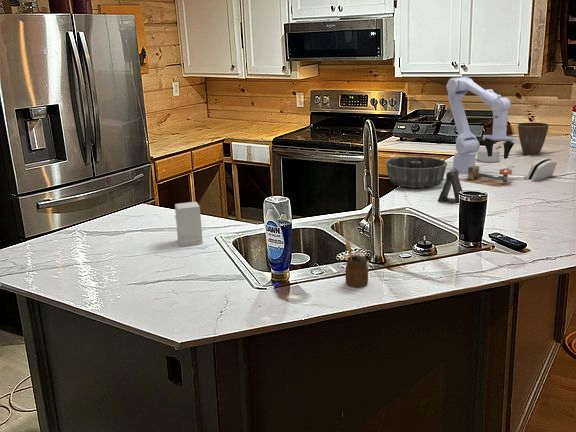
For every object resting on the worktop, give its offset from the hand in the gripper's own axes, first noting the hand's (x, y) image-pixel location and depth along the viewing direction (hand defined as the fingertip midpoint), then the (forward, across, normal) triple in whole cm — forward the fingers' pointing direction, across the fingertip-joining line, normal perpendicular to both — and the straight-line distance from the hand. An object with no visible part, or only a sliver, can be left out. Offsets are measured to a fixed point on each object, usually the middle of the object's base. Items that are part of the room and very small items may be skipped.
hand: (497, 157), depth 268 cm
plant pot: (+10, -16, +62) cm, 65 cm away
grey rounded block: (+10, +13, +14) cm, 22 cm away
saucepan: (+10, -25, +39) cm, 47 cm away
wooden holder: (+9, -6, -9) cm, 14 cm away
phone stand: (+10, +6, -44) cm, 45 cm away
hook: (+8, +4, -9) cm, 13 cm away
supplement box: (+10, -28, -142) cm, 145 cm away
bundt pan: (+10, -22, -29) cm, 38 cm away
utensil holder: (+10, +35, -131) cm, 136 cm away
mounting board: (+10, 0, -9) cm, 13 cm away
